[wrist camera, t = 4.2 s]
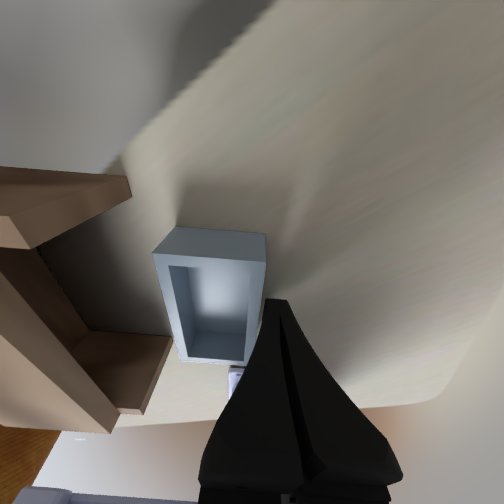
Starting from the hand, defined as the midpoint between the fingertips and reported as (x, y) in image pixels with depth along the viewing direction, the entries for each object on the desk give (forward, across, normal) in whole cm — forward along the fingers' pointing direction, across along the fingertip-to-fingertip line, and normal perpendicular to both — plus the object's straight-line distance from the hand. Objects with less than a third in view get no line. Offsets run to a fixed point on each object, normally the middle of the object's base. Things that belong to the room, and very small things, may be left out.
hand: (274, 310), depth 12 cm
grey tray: (+2, +4, 0) cm, 4 cm away
